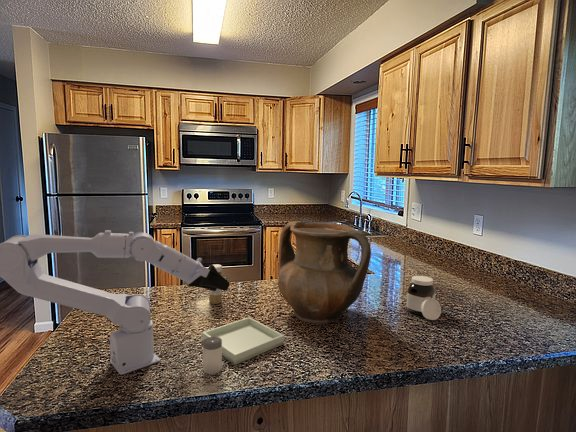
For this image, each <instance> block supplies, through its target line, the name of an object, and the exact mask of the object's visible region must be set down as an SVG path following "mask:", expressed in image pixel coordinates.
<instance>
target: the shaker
mask: <svg viewBox="0 0 576 432" xmlns="http://www.w3.org/2000/svg"><path fill="white" fill-rule="evenodd" d="M202 363H203V364H202V366H203V367H202V369H203V370H202V371H203V372H204V373H205V374H207V375H215V374H218V373H220V372H221V371H222V369H223V356H222V339H221V338H219V337H209V338H206V339H204V340H203V341H202Z"/></svg>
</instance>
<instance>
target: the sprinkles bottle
mask: <svg viewBox="0 0 576 432" xmlns="http://www.w3.org/2000/svg"><path fill="white" fill-rule="evenodd" d="M212 265H213V266H214V267H215V268H216V270H217V271H218V273H219V274H220V275H221V276H222V272H223V265H221V264H218V263H217V264H212ZM208 292H209V293H208V294H209V304H212V305H216V304H217V305H219V304H220V303H222V302H223V299H222V298H223V297H222V293H223V290H220V289H216V291H211V290H208Z"/></svg>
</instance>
